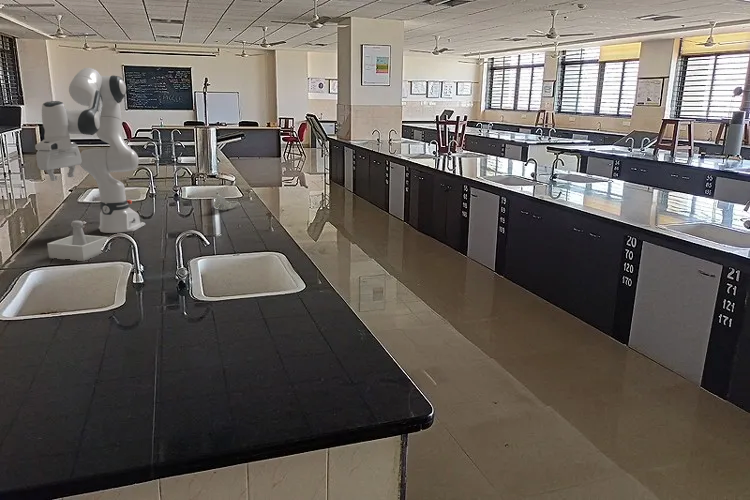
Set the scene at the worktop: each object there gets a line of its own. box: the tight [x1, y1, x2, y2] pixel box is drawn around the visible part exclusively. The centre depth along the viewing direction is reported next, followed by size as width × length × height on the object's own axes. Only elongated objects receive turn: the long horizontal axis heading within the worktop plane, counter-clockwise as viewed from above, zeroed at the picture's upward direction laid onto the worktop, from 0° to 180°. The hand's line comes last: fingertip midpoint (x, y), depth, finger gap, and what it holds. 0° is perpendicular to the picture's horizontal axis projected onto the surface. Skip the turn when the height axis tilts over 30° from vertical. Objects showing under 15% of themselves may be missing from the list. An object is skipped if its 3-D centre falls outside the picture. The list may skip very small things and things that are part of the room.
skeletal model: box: [211, 190, 242, 211], centre depth 329 cm, size 16×9×25 cm
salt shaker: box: [70, 220, 87, 246], centre depth 236 cm, size 6×6×13 cm
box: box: [46, 234, 111, 262], centre depth 237 cm, size 16×16×6 cm
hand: (62, 178), depth 232 cm, fingers open, 8 cm apart
